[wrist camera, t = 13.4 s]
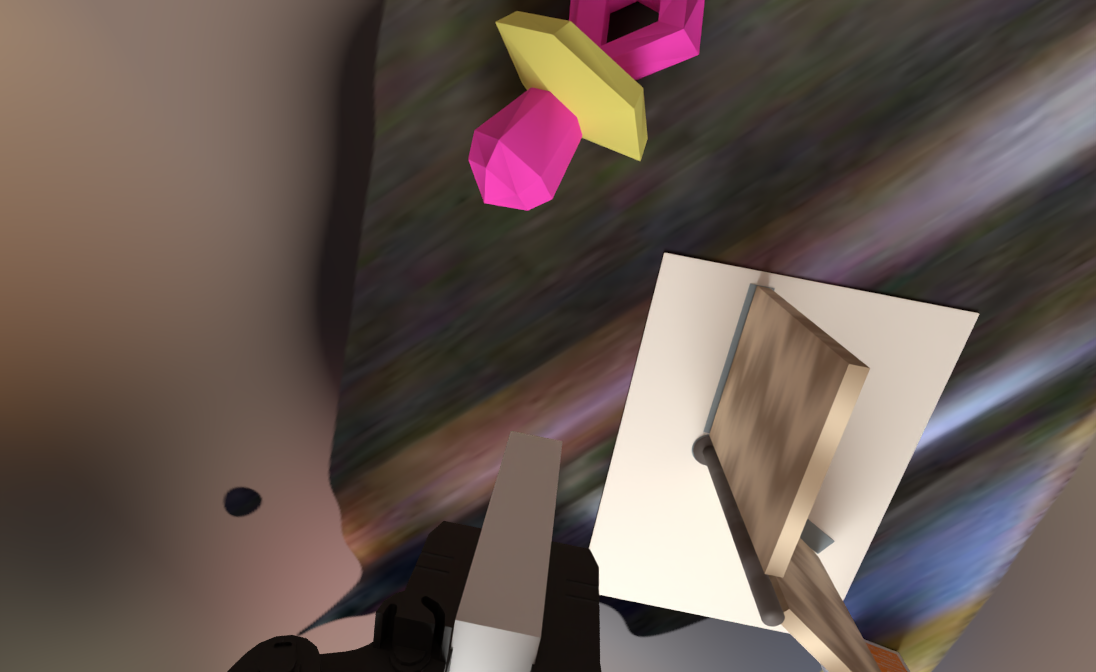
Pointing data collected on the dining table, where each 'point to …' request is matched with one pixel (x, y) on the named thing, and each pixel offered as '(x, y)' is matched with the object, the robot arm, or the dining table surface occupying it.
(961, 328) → the card
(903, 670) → the skincare box
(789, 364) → the panel
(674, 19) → the toy
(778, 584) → the fence gate
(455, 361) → the dining table surface
